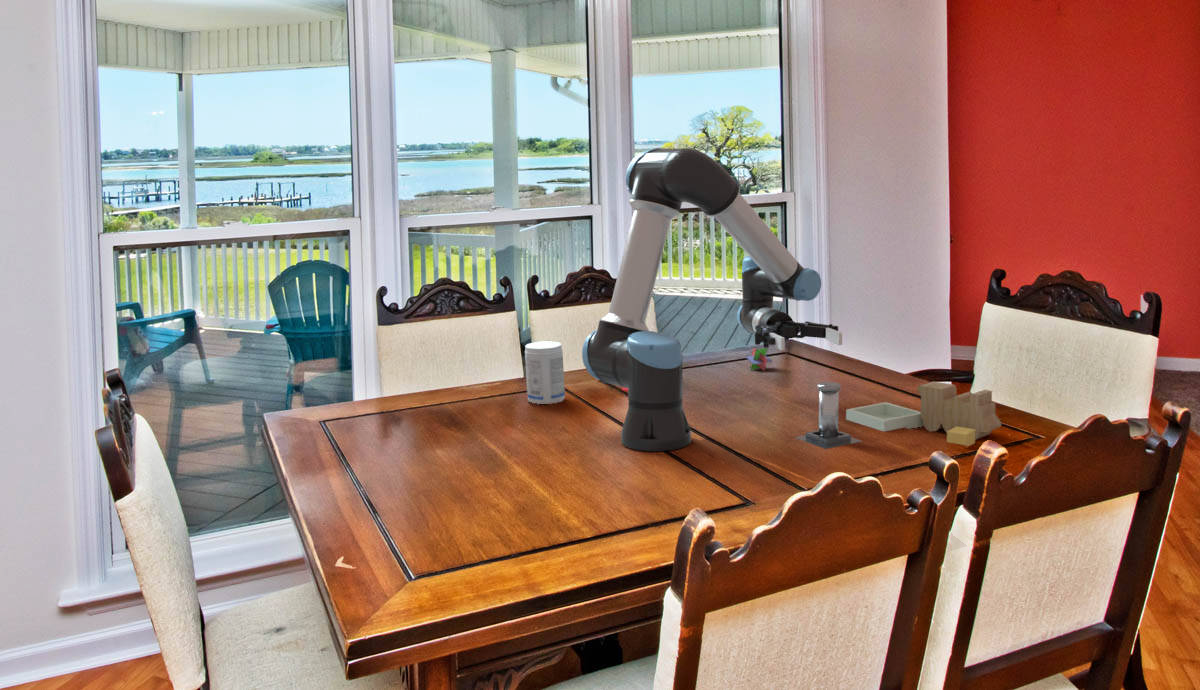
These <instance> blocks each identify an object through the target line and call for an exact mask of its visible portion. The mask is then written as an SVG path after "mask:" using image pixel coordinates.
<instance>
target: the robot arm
mask: <svg viewBox="0 0 1200 690" xmlns="http://www.w3.org/2000/svg"><path fill="white" fill-rule="evenodd" d="M634 156H635V155H634ZM625 184H626V186H627V191H628V193H629V194H630V198H629V201H628V203H629V204H630V207H631V208H632V209H633V210H632V211H633V213H632V217H631V222H630V225H629V230H628V233H627V237H626V240H625V245H624V248H623V249H624V250H623V252H622V253H623V254H622V256H621V262H620V266H619V267H618V268H619V270H618V273H617V277H616V281H615V284H614V289H613V294H612V298H611V302H610V304H609V308H608V313H607V314H606V315H605V316H603V317H601V318H600V319H599V321H598V326H597V329H595V330H594V331H592V332H591V333H590V334H589V335H587V337H586V338H585V340H584V342H583V344H582V350H581V356H582V363H583V365H584V367H585V370H586V372H587V373H588V374H589V375H591V376H592V377H593V378H594V379H596V380H599V381H600V382H602V383H605V384H608V385H614V386H618V387H620V386H621V387H620V388H622V387H624V388H628V392H627V393H628V397H627V398H628V399H627V400H628V407H627V412H626V415H625V417H624V422H623V425H622V429H621V431H620V436H621V437H620V440H621V441H620V442H621V444H622V445H623V446H624V447H626V448H629V449H632V450H636V451H645V452H667V451H666V450H668V451H673V450H678V449H683V448H685V447H687V446H689V445H690V444H691V443H692V431H691V428H690V425H689V421H688V419H687V417H686V413H685V410H684V406H683V359H684V356H683V353H682V352H683V350H682V344H681V342H680V340H679V339H678V338H677V337H675V336H674V335H671V334H669V333H665V332H662V331H659V332H658V331H657V332H656V331H652V330H650V329H649V327H648V326H647V325H646V324H647V323H646V321H647V320H646V319H647V317H648V312H649V309H650V304H651V302H652V301H651V300H652V296H653V293H654V288H655V284H656V281H657V278H658V277H657V276H658V272H659V268H660V264H661V260H662V256H663V253H664V247H665V244H666V240H667V236H668V232H669V228H670V225H671V221H672V220H673V219H674V218H676V217H678V216H679V215H680V212H681V208H682V203H687V204H691V205H693V206H695V207H697V208H699V209H700V210H701V212H702V213H704V214H705V216H708V217H713V218H714V219H715V220H716V221H717V222H718V223H719V225H721V226H722V227H723V229H724V230H725V231H726V232H727V233H728V234H729V235H730V237H731V238H732V239H733V240H734V241H735V242H736V243H737V244H738V245H739V247H740V248H741V249H742V250H743V252H745V253H746V254H747V256H745V257H744V258H742V267H741V268H742V269H741V282H742V283H741V284H742V285H741V287H742V288H741V290H742V291H741V292H742V293H741V294H742V301H741V302H742V304H741V305H740V307H739V308H738V310H737V313H736V319H737V322H738V324H739V325H740V327H742V328H743V329H744V330H745V331H747V332H748V333H750V334H754V344H755V345H758V346H759V345H761V343H762V344H763V349H764V348H768V349H769V347H770V346H771V347H774V348H776V349H777V350H780V351H785V350H786V349H785V348H786V343H785V342H787V341H788V340H789V339H794V338H795V339H804V338H806V337H808V338H816V339H817V338H818V339H825V340H826V341H828V342H831V343H833V344H835V345H839V346H842V345H843V332H841V331H839V326H838V325H833V324H832V323H830V324H823V323H817V322H812V321H804V322H796V321H794V320H793V318H792V317H791V315H789V314H788V313H786V312H784V311H781V310H779V309H776V308H774V297H775V298H782V299H788V300H793V301H794V300H795V301H797V302H800V301H804V302H808V301H809V302H810V301H813V300H814V299H816V298H817V297H818V295H819V293H820V292H821V289H822V279H821V276H820V273H819V272H818V271H816V270H815V269H811V268H809V267H803V266H802V265H801V264H800V263H799V262H798V261H797V259H796V258H795V257H794V256H793V254H792V253H791V252H790V251H789V250H788V249H787V248H786V247H785V245H784V244H783V243H782V242H781V241H780V239H779V238H778V237H777V236H776V235H775V233H774V232H773V231H772V230H771V229H770V227H769V226H768V225H767V224H766V223H765V222H764V220H763V219H762V218H761V217H760V216H759V215H758V213H757V212H756V211H755V210H754V209H753V207H752V206H751V205H750V203H749V202H748V201H747V200H746V199H745V198H744V197H743V195H742V194H741V193H740V191H741V188H740V185H739V183H738V182H737V181H736V180H735V179H734V178H733V176H732V175H731V173H730V172H728V171H727V170H726V169H725V168H724V167H723V166H722V165H720V163H719V162H717V161H716V160H715V159H713V158H712V157H711V156H709V155H708V154H706V153H704V152H703V151H700V150H698V149H695V148H691V147H685V148H684V147H683V148H660V147H658V148H651V149H648V150H644V151H641V152H640V153H638V154H636V156H635V157H633V158H632V160H631V161H630V162H629V164H628V167H627V168H626V173H625Z"/></svg>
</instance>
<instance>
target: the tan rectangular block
mask: <svg viewBox="0 0 1200 690" xmlns="http://www.w3.org/2000/svg"><path fill="white" fill-rule="evenodd" d="M946 443H948V444H949V443H950V444H956V445H961V446H964V447H968V446H969V447H971V446H973V445H975V443H976V440H975V429H970V428H964V427H958V426H957V427H955V428H953V429H951V430H949V431H947V433H946ZM972 444H973V445H972ZM970 445H971V446H970Z"/></svg>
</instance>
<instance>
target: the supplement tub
mask: <svg viewBox="0 0 1200 690" xmlns="http://www.w3.org/2000/svg"><path fill="white" fill-rule="evenodd" d="M563 351H564V350H563V347H562V343H561V342H557V341H548V340H547V341H546V340H545V341H535V342H530V343H526V345H525V349H524V359H525V360H524V361H525V362H524V363H525V375H526V376H525V377H526V392H527V400H528V402H529V403H531V402H532V403H531V404H533V403H537V404H536V405H539V404H549V405H551V404H550V403H554V404H558V403H557V402H559V403H561V402H563V401H564V400H565V397H566V394H565V393H566V391H565V374H564V372H565V371H564V355H563V353H564V352H563Z"/></svg>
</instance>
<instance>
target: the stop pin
mask: <svg viewBox="0 0 1200 690" xmlns="http://www.w3.org/2000/svg"><path fill="white" fill-rule="evenodd" d="M816 385H817V386H816V387H817V390H818V392H819V393H818V394H819V395H818V430H819V436H821V437H824V438H832V437H837V436H838V431H839V395H840V392H839V391H841V390H842V389H841V388H842V387H841V386H842V384H841V383H839V382H836V381H821V382H818V383H817V384H816Z"/></svg>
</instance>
